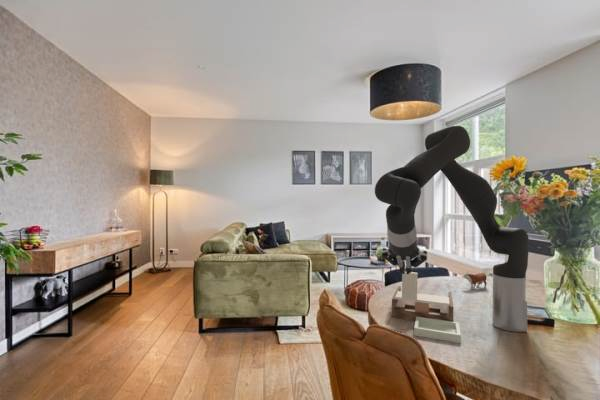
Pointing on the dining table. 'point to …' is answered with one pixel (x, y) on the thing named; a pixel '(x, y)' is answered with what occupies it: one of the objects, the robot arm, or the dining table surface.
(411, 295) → the cover
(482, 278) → the bull figurine
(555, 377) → the dining table surface
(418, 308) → the terracotta block
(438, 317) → the brown wooden box
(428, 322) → the sage tray
